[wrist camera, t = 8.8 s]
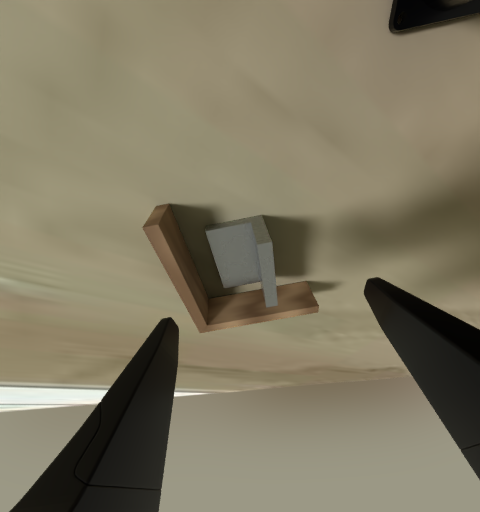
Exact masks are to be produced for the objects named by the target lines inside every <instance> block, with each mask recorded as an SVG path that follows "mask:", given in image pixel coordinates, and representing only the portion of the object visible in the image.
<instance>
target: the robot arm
mask: <svg viewBox="0 0 480 512" xmlns="http://www.w3.org/2000/svg"><path fill="white" fill-rule="evenodd" d="M400 14H401V16H402V20H401V22H400V24H398V17H399V15H400ZM475 14H480V0H393V4H392V9H391V14H390V19H389V30H390V31H391V32H394V33H395V32H399V31H404V30H408V29H413V28H417V27H422V26H426V25H431V24H435V23H440V22H444V21H448V20H453V19H457V18H462V17H466V16H471V15H475ZM364 295H365V297H366V299H367V301H368V303H369V305H370V307H371V309H372V311H373V313H374V315H375V317H376V319H377V321H378V323H379V325H380V327H381V328H382V330H383V332H384V333H385V335H386V336H387V338H388V339H389V341H390V342H391V344H392V346H393V347H394V349H395V350H396V352H397V353H398V355H399V356H400V358H401V359H402V361H403V362H404V364H405V366H406V367H407V369H408V370H409V372H410V373H411V375H412V376H413V378H414V379H415V381H416V382H417V384H418V386H419V387H420V389H421V390H422V392H423V393H424V395H425V396H426V398H427V399H428V401H429V402H430V404H431V405H432V407H433V408H434V410H435V412H436V413H437V415H438V416H439V418H440V419H441V421H442V422H443V424H444V425H445V427H446V429H447V430H448V431H449V433H450V435H451V436H452V438H453V439H454V441H455V442H456V444H457V445H458V447H459V448H460V449H461V452H462V453H463V455H464V457H465V458H466V459H467V461H468V462H469V464H470V466H471V467H472V468H473V470H474V472H475V473H476V475H477V476H478V478H479V479H480V330H479V329H477V328H475V327H474V326H472V325H470V324H468V323H466V322H464V321H462V320H460V319H458V318H456V317H454V316H452V315H450V314H448V313H447V312H445V311H443V310H441V309H439V308H437V307H435V306H433V305H431V304H429V303H427V302H425V301H423V300H421V299H420V298H418V297H416V296H414V295H412V294H410V293H408V292H406V291H404V290H402V289H400V288H398V287H396V286H394V285H393V284H391V283H389V282H387V281H385V280H383V279H381V278H378V277H375V278H370V279H368V280H367V282H366V285H365V289H364ZM178 345H179V328H178V326H177V324H176V323H175V322H174V320H173V319H172V318H171V317H168V318H163V319H162V320H161V321H160V322H159V323H158V325H157V326H156V327H155V329H154V330H153V331H152V333H151V334H150V335H149V337H148V338H147V339H146V341H145V342H144V343H143V345H142V346H141V347H140V349H139V350H138V351H137V353H136V354H135V355H134V357H133V358H132V359H131V361H130V362H129V364H128V365H127V366H126V368H125V369H124V370H123V372H122V373H121V374H120V376H119V377H118V378H117V380H116V381H115V382H114V384H113V385H112V386H111V388H110V389H109V390H108V392H107V393H106V394H105V396H104V397H103V399H102V400H101V402H100V403H99V404H98V405H97V407H96V408H95V409H94V411H93V412H92V413H91V415H90V416H89V417H88V418H87V420H86V421H85V422H84V424H83V425H82V426H81V428H80V429H79V430H78V431H77V433H76V434H75V435H74V436H73V438H72V439H71V440H70V441H69V443H68V444H67V445H66V446H65V447H64V449H63V450H62V451H61V452H60V453H59V455H58V456H57V457H56V458H55V459H54V461H53V462H52V463H51V464H50V465H49V467H48V468H47V469H46V470H45V471H44V473H43V474H42V475H41V476H40V477H39V479H38V480H37V481H36V482H35V484H34V485H33V486H32V487H31V488H30V489H29V491H28V492H27V493H26V494H25V495H24V496H23V498H22V499H21V500H20V501H19V502H18V503H17V504H16V505H15V506H14V507H13V509H11V510H10V511H9V512H158V511H159V504H160V496H161V488H162V480H163V473H164V465H165V458H166V450H167V443H168V435H169V427H170V420H171V413H172V405H173V398H174V390H175V382H176V375H177V367H178Z"/></svg>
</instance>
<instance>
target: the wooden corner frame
mask: <svg viewBox="0 0 480 512" xmlns="http://www.w3.org/2000/svg"><path fill="white" fill-rule="evenodd" d="M143 230H144V231H145V233H146V235H147V237H148V239H149V241H150V242H151V244H152V246H153V248H154V250H155V252H156V253H157V255H158V257H159V259H160V261H161V263H162V264H163V266H164V268H165V270H166V272H167V274H168V275H169V277H170V279H171V281H172V283H173V285H174V286H175V288H176V290H177V292H178V294H179V296H180V297H181V299H182V301H183V303H184V305H185V306H186V308H187V310H188V312H189V314H190V316H191V317H192V319H193V321H194V323H195V325H196V327H197V328H198V330H199V332H200V333H203V332H209V331H215V330H220V329H226V328H232V327H237V326H243V325H249V324H254V323H260V322H266V321H271V320H277V319H283V318H288V317H294V316H300V315H306V314H311V313H317V312H318V309H319V305H318V303H317V301H316V299H315V297H314V295H313V293H312V291H311V289H310V287H309V285H308V283H307V281H304V282H299V283H293V284H288V285H282V286H277V287H276V290H277V301H278V306H272V307H267V308H266V304H265V300H264V295H263V291H262V289H260V290H255V291H249V292H244V293H238V294H233V295H227V296H222V297H216V298H211V299H208V296H207V294H206V292H205V289H204V287H203V284H202V282H201V279H200V277H199V275H198V272H197V270H196V267H195V265H194V263H193V260H192V258H191V255H190V253H189V251H188V248H187V246H186V243H185V241H184V238H183V236H182V234H181V231H180V229H179V226H178V224H177V222H176V219H175V217H174V214H173V212H172V210H171V207H170V205H169V204H165V205H160V206H156V207H155V209H154V210H153V212H152V214H151V215H150V217H149V218H148V220H147V221H146V223H145V224H144V226H143Z"/></svg>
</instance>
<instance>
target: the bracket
mask: <svg viewBox="0 0 480 512" xmlns="http://www.w3.org/2000/svg"><path fill="white" fill-rule="evenodd" d="M205 232H206V235H207V238H208V241H209V244H210V247H211V250H212V253H213V256H214V259H215V262H216V265H217V268H218V271H219V274H220V278H221V281H222V284H223V287H224V288H229V287H234V286H239V285H245V284H250V283H256V282H260V283H261V287H262V291H263V295H264V300H265V304H266V308H267V307H272V306H278V301H277V290H276V279H275V268H274V256H273V245H272V240H271V238H270V235H269V233H268V230H267V227H266V225H265V222H264V220H263V217H262V215H259V216H254V217H249V218H244V219H239V220H234V221H229V222H224V223H219V224H214V225H209V226H206V230H205Z"/></svg>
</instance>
